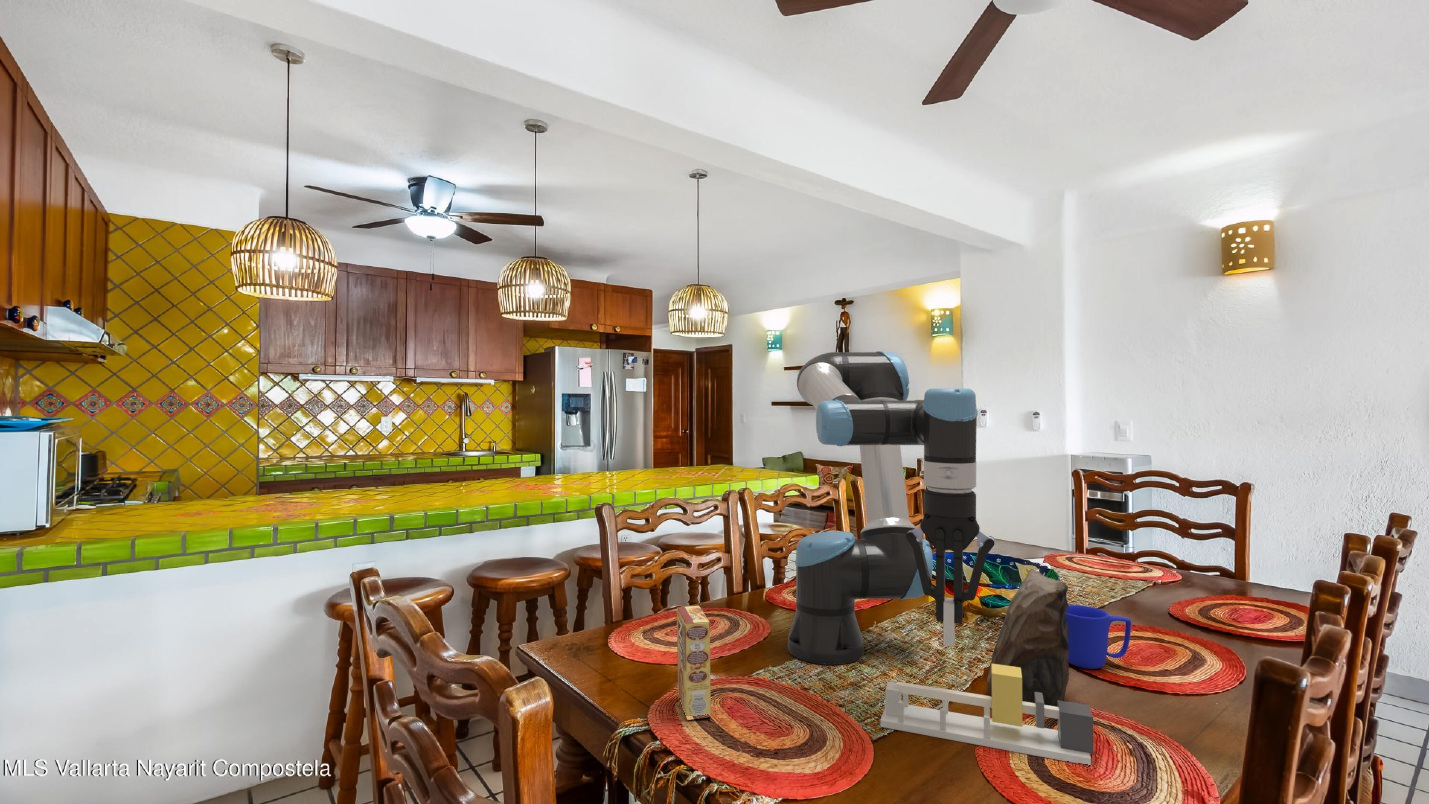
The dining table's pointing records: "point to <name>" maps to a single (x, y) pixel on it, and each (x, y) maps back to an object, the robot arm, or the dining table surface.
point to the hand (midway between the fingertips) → (949, 642)
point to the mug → (1092, 636)
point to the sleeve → (1007, 695)
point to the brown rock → (1036, 639)
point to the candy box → (693, 660)
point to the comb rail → (993, 723)
